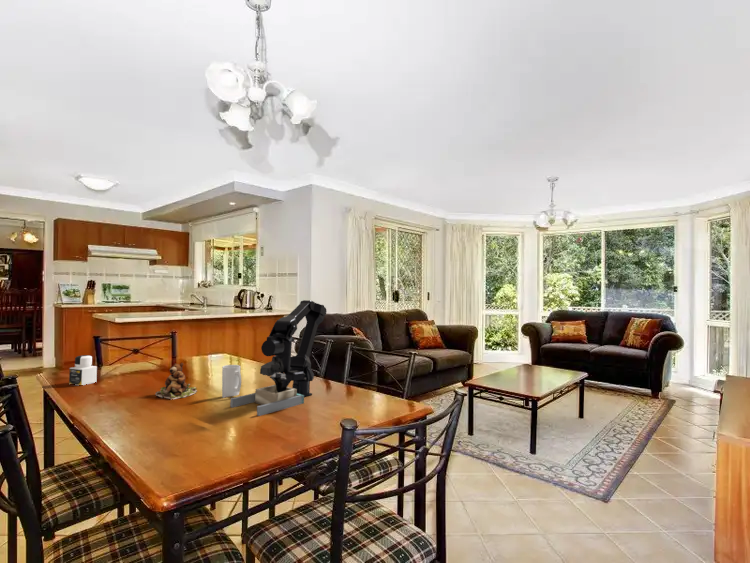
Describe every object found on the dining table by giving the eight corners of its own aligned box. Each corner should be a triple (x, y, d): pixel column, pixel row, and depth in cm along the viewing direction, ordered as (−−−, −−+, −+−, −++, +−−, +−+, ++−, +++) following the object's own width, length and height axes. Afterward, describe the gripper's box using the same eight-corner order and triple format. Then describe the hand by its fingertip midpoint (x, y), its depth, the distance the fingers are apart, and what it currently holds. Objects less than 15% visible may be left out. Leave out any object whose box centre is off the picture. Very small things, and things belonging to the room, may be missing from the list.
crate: (276, 397, 160) (277, 384, 160) (296, 402, 153) (296, 389, 153) (255, 402, 152) (255, 389, 152) (275, 408, 145) (275, 394, 145)
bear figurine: (146, 398, 160) (147, 366, 160) (175, 389, 174) (176, 360, 175) (176, 401, 156) (177, 369, 156) (203, 392, 171) (203, 362, 171)
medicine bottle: (68, 384, 178) (69, 356, 178) (84, 381, 184) (85, 354, 185) (81, 386, 176) (82, 357, 176) (96, 382, 182) (97, 355, 182)
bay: (275, 398, 162) (275, 388, 162) (303, 406, 153) (304, 395, 153) (230, 409, 146) (230, 398, 146) (259, 419, 136) (259, 407, 137)
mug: (218, 397, 162) (218, 366, 163) (233, 393, 168) (234, 364, 168) (232, 402, 156) (233, 370, 156) (247, 398, 161) (248, 367, 161)
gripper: (249, 352, 154) (246, 394, 153) (283, 358, 143) (280, 404, 142) (273, 350, 163) (270, 391, 162) (306, 356, 152) (304, 399, 151)
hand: (280, 396), depth 154 cm, fingers closed, pressing on crate
